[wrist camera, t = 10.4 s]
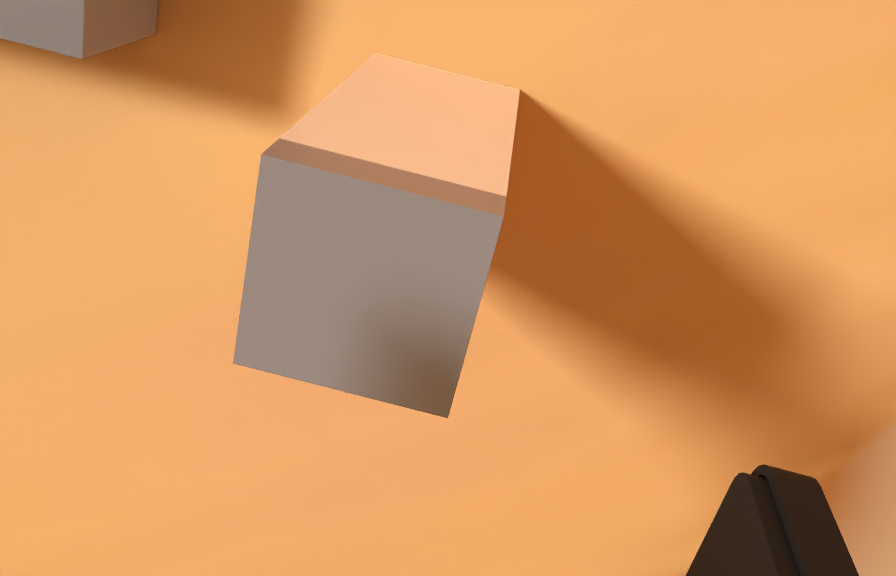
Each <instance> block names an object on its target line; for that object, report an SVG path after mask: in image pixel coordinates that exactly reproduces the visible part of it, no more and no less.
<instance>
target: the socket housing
mask: <svg viewBox="0 0 896 576" xmlns="http://www.w3.org/2000/svg"><path fill="white" fill-rule="evenodd" d="M157 10H158V0H0V38H1V39H5V40H9V41H13V42H17V43H21V44H24V45H28V46H32V47H36V48H40V49H44V50H48V51H52V52H56V53H60V54H63V55H67V56H71V57H75V58H79V59H84V58H87V57H90V56H93V55H96V54H99V53H102V52H105V51H108V50H111V49H114V48H117V47H120V46H123V45H126V44H129V43H132V42H135V41H138V40H140V39H143V38H146V37H149V36H152V35H155V34H156V23H157Z"/></svg>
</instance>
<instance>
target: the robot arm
mask: <svg viewBox="0 0 896 576" xmlns="http://www.w3.org/2000/svg"><path fill="white" fill-rule="evenodd" d="M686 576H859V575H858V572H857V570H856V568H855V565H854V563H853V561H852V558H851V556H850V554H849V552H848V549H847V547H846V544H845V542H844V540H843V537H842V535H841V533H840V530H839V528H838V526H837V523H836V521H835V519H834V516H833V514H832V512H831V509H830V507H829V505H828V502H827V500H826V498H825V495H824V493H823V491H822V488H821V486H820V484H819V483H818V481H817V480H816V479H814V478H812V477H809V476H805V475H802V474H798V473H794V472H790V471H786V470H783V469H779V468H775V467H771V466H768V465H760V466H758V467H757V468H756V469H755V470H754V471H753V472H752V474H751V475H750V474H746V473H739V474H738V475H737V476H736V477H735V478H734V480H733V482H732V483H731V485H730V487H729V489H728V491H727V493H726V495H725V497H724V499H723V501H722V503H721V506H720V508H719V510H718V512H717V514H716V516H715V518H714V520H713V522H712V524H711V526H710V528H709V530H708V532H707V534H706V536H705V538H704V540H703V542H702V544H701V546H700V548H699V550H698V552H697V554H696V556H695V558H694V560H693V562H692V564H691V566H690V568H689V570H688V572H687V574H686Z"/></svg>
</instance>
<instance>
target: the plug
mask: <svg viewBox="0 0 896 576" xmlns="http://www.w3.org/2000/svg"><path fill="white" fill-rule="evenodd" d="M519 94H520V89H517V88H513V87H509V86H505V85H501V84H497V83H493V82H489V81H485V80H482V79H478V78H474V77H470V76H466V75H462V74H458V73H454V72H450V71H446V70H443V69H439V68H435V67H431V66H427V65H423V64H419V63H415V62H411V61H407V60H404V59H400V58H396V57H392V56H388V55H384V54H380V53H374V54H373V55H372V56H371V57H370V58H369V59H368V60H367V61H365V62H364V63H363V64H362V65H361V66H360V67H359V68H358V69H356V70H355V71H354V72H353V73H352V74H351V75H350V76H349V77H348V78H346V79H345V80H344V81H343V82H342V83H341V84H340V85H339V86H337V87H336V88H335V89H334V90H333V91H332V92H331V93H330V94H329V95H327V96H326V97H325V98H324V99H323V100H322V101H321V102H320V103H318V104H317V105H316V106H315V107H314V108H313V109H312V110H311V111H309V112H308V113H307V114H306V115H305V116H304V117H303V118H302V119H301V120H299V121H298V122H297V123H296V124H295V125H294V126H293V127H292V128H290V129H289V130H288V131H287V132H286V133H285V134H284V135H283V136H281V137H280V138H279V139H278V140H277V141H276V142H275V143H274V144H273V145H271V146H270V147H269V148H268V149H267V150H266V151H265V152H264V153H262V154H261V161H260V169H259V176H258V183H257V191H256V198H255V205H254V213H253V220H252V228H251V235H250V242H249V250H248V257H247V265H246V272H245V279H244V287H243V294H242V301H241V309H240V316H239V324H238V331H237V338H236V346H235V353H234V361H233V363H234V364H237V365H241V366H245V367H249V368H253V369H257V370H261V371H265V372H269V373H273V374H277V375H281V376H285V377H288V378H292V379H296V380H300V381H304V382H308V383H312V384H316V385H320V386H324V387H328V388H332V389H336V390H339V391H343V392H347V393H351V394H355V395H359V396H363V397H367V398H371V399H375V400H379V401H383V402H387V403H390V404H394V405H398V406H402V407H406V408H410V409H414V410H418V411H422V412H426V413H430V414H434V415H437V416H441V417H445V418H448V416H449V412H450V408H451V405H452V401H453V398H454V394H455V390H456V387H457V383H458V380H459V376H460V372H461V369H462V365H463V362H464V358H465V355H466V351H467V347H468V344H469V340H470V337H471V333H472V329H473V326H474V322H475V319H476V315H477V311H478V308H479V304H480V301H481V297H482V294H483V290H484V286H485V283H486V279H487V276H488V272H489V268H490V265H491V261H492V258H493V254H494V250H495V247H496V243H497V240H498V236H499V233H500V229H501V225H502V222H503V218H504V212H505V204H506V196H507V189H508V181H509V173H510V165H511V157H512V149H513V141H514V133H515V125H516V117H517V109H518V102H519Z"/></svg>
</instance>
